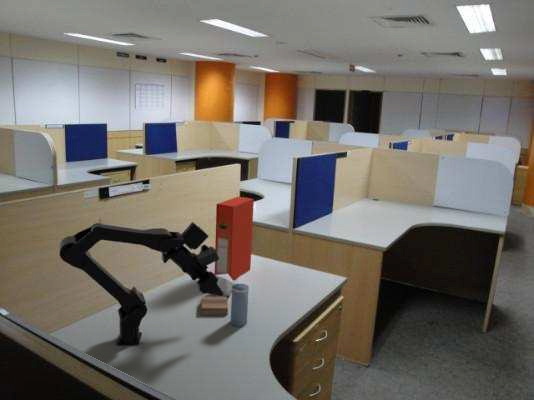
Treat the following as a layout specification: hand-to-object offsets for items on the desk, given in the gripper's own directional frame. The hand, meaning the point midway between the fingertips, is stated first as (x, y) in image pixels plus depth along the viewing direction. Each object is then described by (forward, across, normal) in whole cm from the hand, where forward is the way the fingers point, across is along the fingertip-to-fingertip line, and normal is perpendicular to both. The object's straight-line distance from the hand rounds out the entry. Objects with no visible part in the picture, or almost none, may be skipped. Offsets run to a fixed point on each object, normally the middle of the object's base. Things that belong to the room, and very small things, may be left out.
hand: (218, 288), depth 144 cm
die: (+16, +22, +4) cm, 27 cm away
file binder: (+23, +40, -4) cm, 47 cm away
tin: (+15, 0, +4) cm, 15 cm away
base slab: (+11, +12, +8) cm, 18 cm away
